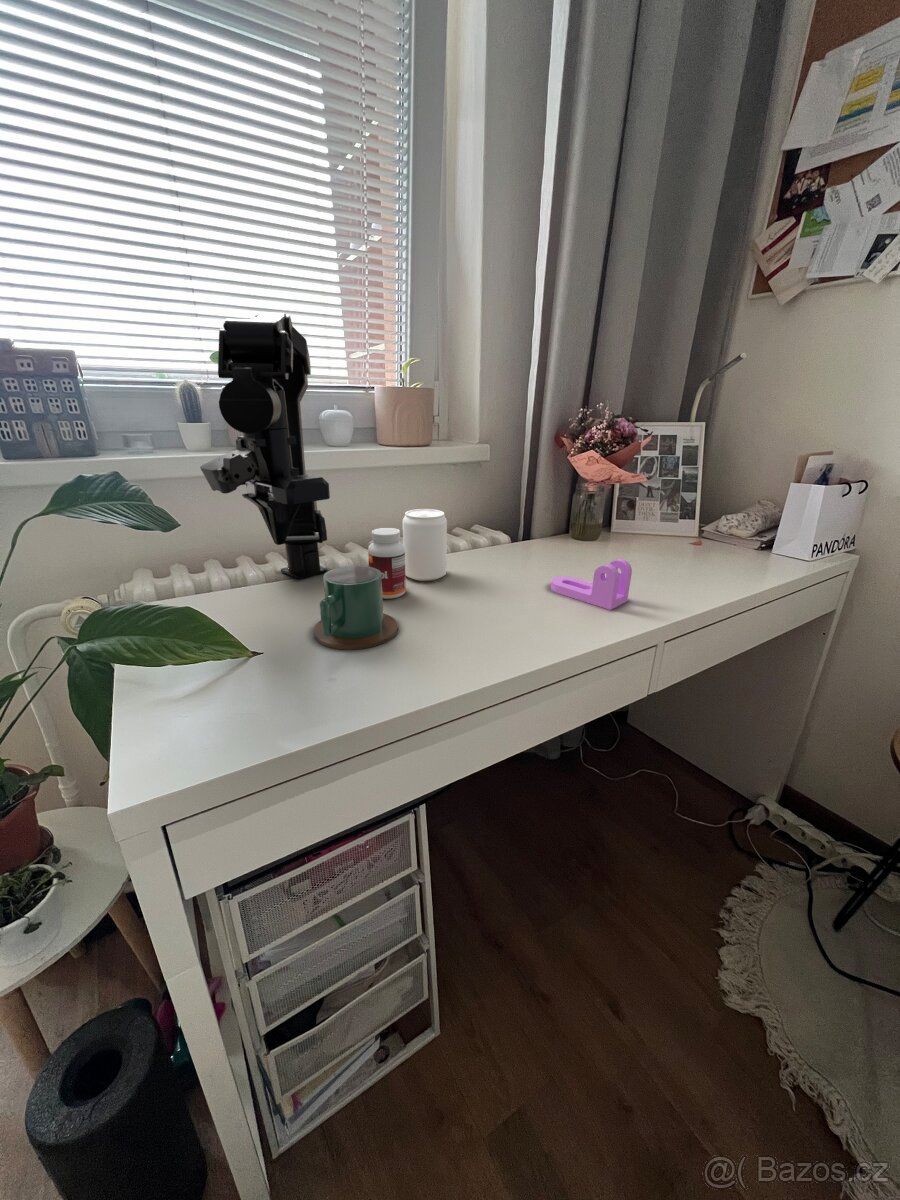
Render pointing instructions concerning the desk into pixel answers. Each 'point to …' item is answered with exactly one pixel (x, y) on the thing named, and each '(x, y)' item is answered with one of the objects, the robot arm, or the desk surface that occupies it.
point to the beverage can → (425, 544)
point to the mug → (352, 602)
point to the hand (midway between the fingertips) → (279, 544)
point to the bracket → (599, 585)
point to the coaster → (361, 643)
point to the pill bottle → (388, 561)
